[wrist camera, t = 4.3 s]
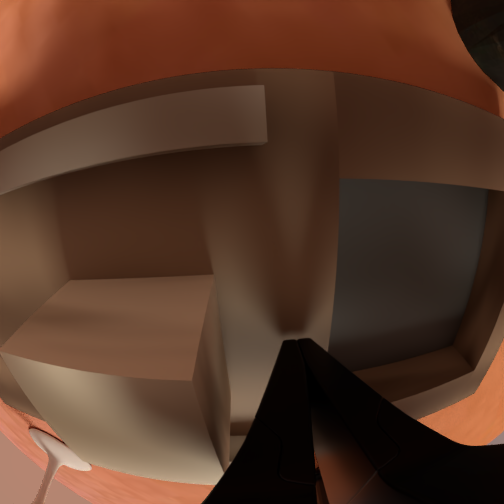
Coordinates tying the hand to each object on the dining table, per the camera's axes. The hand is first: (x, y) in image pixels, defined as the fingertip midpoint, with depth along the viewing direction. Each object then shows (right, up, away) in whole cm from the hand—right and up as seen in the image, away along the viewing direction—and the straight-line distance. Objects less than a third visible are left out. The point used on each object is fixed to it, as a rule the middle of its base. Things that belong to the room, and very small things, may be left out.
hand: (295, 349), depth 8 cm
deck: (-4, +1, +3) cm, 5 cm away
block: (-5, 0, 0) cm, 5 cm away
